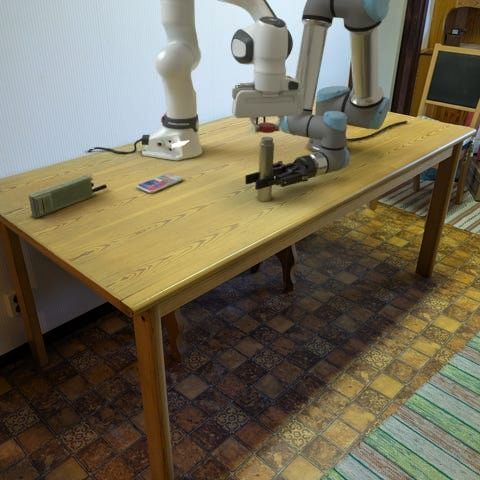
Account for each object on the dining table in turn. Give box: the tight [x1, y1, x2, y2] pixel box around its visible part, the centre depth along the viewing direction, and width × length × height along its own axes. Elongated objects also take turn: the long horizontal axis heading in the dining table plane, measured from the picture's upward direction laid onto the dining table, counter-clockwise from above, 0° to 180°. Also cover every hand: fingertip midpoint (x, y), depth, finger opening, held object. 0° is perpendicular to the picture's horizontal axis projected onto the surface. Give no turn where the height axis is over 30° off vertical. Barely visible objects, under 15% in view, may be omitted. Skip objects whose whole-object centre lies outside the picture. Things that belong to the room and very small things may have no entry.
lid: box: [258, 121, 276, 134], centre depth 145 cm, size 5×5×2 cm
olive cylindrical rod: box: [257, 136, 275, 202], centre depth 151 cm, size 4×4×19 cm
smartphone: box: [136, 172, 184, 194], centre depth 164 cm, size 7×1×15 cm
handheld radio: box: [28, 173, 108, 219], centre depth 150 cm, size 7×3×25 cm
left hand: (266, 131), depth 145 cm, fingers closed on lid, 5 cm apart
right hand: (251, 182), depth 150 cm, fingers closed on olive cylindrical rod, 4 cm apart
